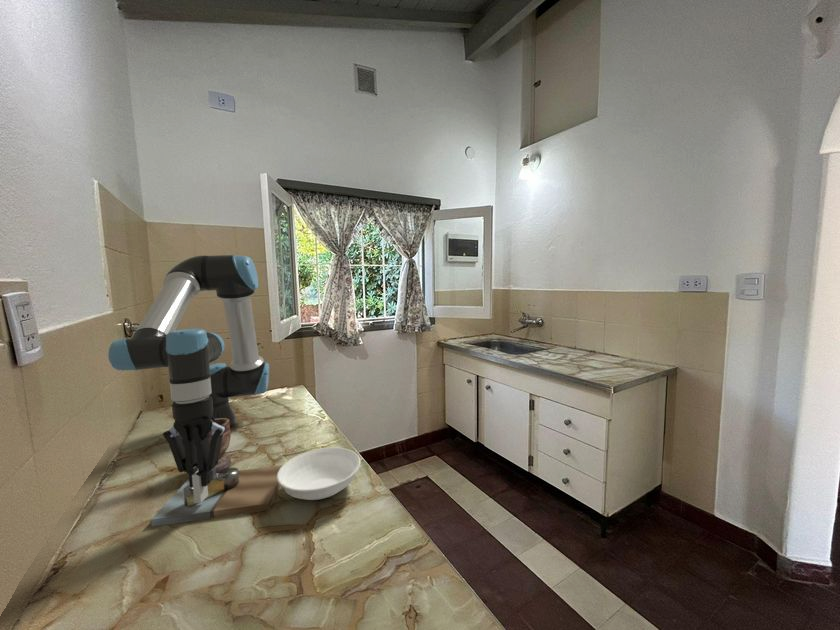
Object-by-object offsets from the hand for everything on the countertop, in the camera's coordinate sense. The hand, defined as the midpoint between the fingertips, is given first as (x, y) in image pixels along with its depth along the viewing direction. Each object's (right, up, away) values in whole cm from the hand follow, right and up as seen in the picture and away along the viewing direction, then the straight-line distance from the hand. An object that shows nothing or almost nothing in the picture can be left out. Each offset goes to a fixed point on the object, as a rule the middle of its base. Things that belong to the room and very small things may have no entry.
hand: (201, 499), depth 76 cm
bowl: (+26, -2, +7) cm, 26 cm away
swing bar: (0, -1, +5) cm, 5 cm away
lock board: (+2, -3, +6) cm, 7 cm away
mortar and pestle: (-10, -2, +19) cm, 22 cm away
